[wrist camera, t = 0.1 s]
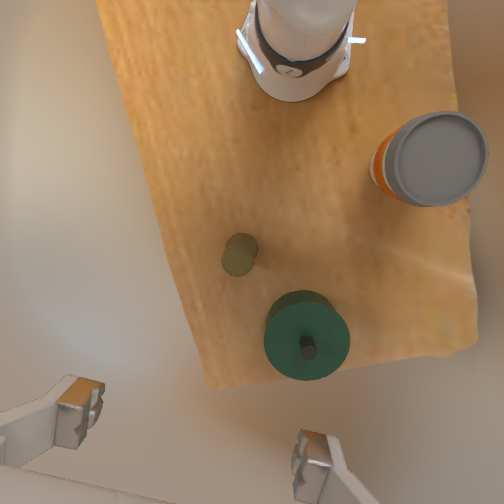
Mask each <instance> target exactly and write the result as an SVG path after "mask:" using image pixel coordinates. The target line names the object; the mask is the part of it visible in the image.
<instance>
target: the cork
mask: <svg viewBox="0 0 504 504" xmlns="http://www.w3.org/2000/svg"><path fill="white" fill-rule="evenodd" d="M257 251H258V247H257V243H256V241H255V240H254V238H253V237H251V236H250V235H248V234H245V233H238V234H236V235H233V236H232V237H231V238H230V239H229V240H228V242H227V245H226V250H225V252H224V253H223V256H222V265H223V268H224V270H225V271H226V272H227V273H228V274H230V275H232V276H236V277H237V276H243V275H246V274H247V273H248V272H250V270H251V269H252V267H253V264H254V258H255V257H256V255H257Z"/></svg>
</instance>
